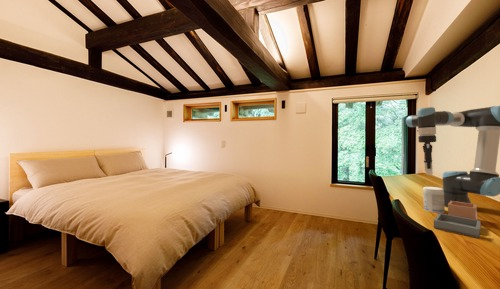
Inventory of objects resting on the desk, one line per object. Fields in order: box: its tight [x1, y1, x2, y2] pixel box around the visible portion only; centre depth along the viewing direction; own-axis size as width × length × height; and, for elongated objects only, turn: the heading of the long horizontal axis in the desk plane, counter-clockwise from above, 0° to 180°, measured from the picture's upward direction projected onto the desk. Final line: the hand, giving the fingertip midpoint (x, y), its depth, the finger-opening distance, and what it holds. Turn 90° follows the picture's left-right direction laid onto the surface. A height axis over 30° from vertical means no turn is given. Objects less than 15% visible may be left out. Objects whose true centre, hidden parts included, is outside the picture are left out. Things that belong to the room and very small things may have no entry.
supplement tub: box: [422, 186, 446, 214], centre depth 124 cm, size 10×10×15 cm
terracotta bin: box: [447, 201, 478, 220], centre depth 109 cm, size 10×10×9 cm
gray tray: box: [433, 213, 482, 239], centre depth 100 cm, size 15×15×4 cm
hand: (428, 172), depth 113 cm, fingers open, 13 cm apart
